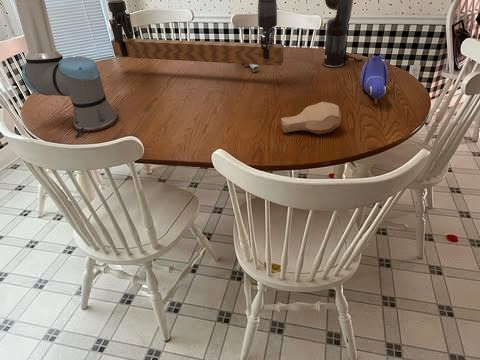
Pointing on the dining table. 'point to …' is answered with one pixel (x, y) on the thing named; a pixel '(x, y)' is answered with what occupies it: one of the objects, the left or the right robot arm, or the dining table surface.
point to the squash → (314, 119)
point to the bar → (201, 51)
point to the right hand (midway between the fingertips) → (267, 56)
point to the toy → (374, 77)
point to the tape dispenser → (253, 67)
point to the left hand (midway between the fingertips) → (128, 54)
